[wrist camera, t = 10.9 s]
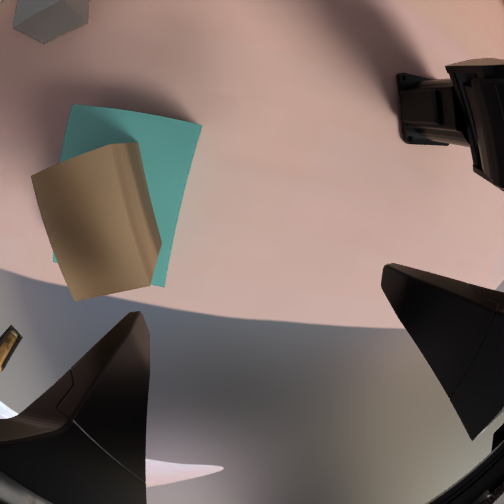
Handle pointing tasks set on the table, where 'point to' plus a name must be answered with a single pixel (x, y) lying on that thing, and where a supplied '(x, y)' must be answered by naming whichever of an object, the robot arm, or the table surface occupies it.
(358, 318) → the table surface
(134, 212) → the walnut brick
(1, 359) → the ammunition clip
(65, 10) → the charcoal brick
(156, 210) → the teal brick
